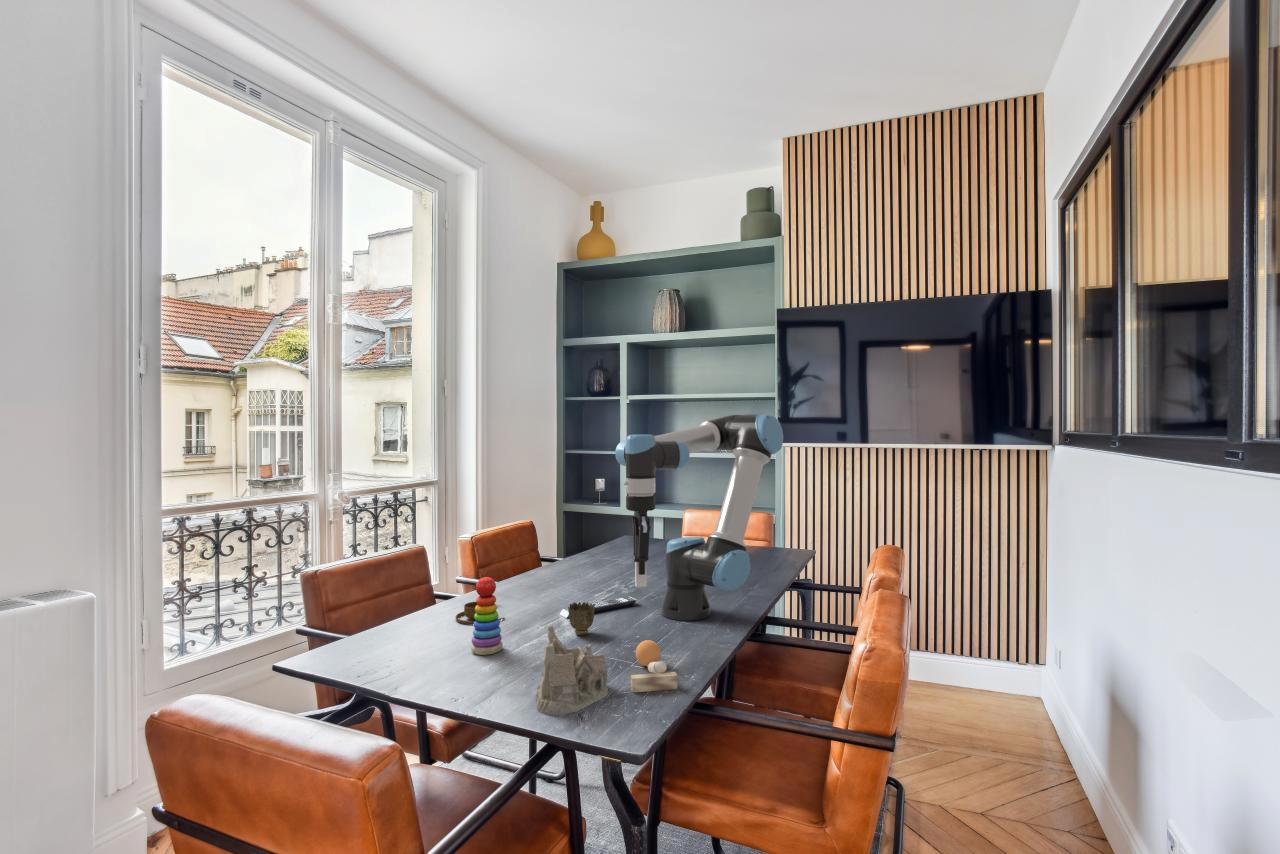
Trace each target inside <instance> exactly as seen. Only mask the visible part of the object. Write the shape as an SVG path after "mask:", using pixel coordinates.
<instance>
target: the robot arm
mask: <svg viewBox="0 0 1280 854" xmlns="http://www.w3.org/2000/svg"><path fill="white" fill-rule="evenodd" d="M783 431H784V430H783V427H782V424H781V423H780V421H779V420H778V418H776V417H775V416H774V415H773V414H772V415H771V414H763V413H758V414H731V415H726V416H722V417H718V418H715V419H711V420H708V421H703V422H702V423H700V424H699V426H694V427H690V428H687V429H681V430H676V431H672V432H667V433H663V434H658V435H654V434H629V435H627V436H626V440H622V441H620V442H619V443H618V444H617V446H616V448H615V452H614V453H615V459H616V461H617V463H618V464H620V465H621V466H622V467H625V478H626V479H625V480H626V481H624V482H623V485H624V486H626V487H625V490H626V493H627V495H626V496H625V508H626V510H627V511H629V512H634V513H633V516H631V524H632V526H631V527H632V543H633V545H632V546H633V552H632V553H633V557H634V558H633V562H634V571H635V572H634V573H635V574H634V575H635V577H634V578H635V579H634V584H635V587H636V588H647V583H648V582H647V579H648V578H647V575H648V573H647V563H648V562H647V561H649V558H650V557H649V551H650V550H649V547H650V532H651V525H650V523H651V522H650V517H648V512H649V511H654V510H655V509H656V496H655V495H654V494H655V493H656V471H658V470H659V471H661V470H663V471H664V470H677V469H682V468H684V467H686V466H687V465H688V463H689V461H690V454H694V453H697V452H698V453H699V452H702V451H705V452H715V451H728V452H732V455H734V457H735V460H734V461H733V466H732V470H731V473H730V477H729V480H728V484H727V487H726V491H725V494H724V498H723V502H722V506H721V510H720V513H719V516H718V520H717V523H716V525H715V526H716V527H715V530H714V532H713V533H711V534H710V535H708V536H707V539H706V540H705V538H704V537H702V536H689V537H688V536H687V537H686V536H685V537H678V538H673V539H670V540H668V542H667V544H666V553H665V557H666V558H665V559H666V560H665V561H666V562H665V563H666V564H665V565H666V589H665V592H664V595H663V599H662V602H661V605H660V614H661V615H662V616H664V617H665V618H667V619H672V620H676V621H698V620H703V619H706V617H707V618H708V617H710V616H711V613H712V612H711V611H712V610H711V604H710V601H709V597H708V593H707V591H706V587H705V585H706V586H710V587H713V588H717V589H719V590H727V591H733V590H737V589H738V588H739V587H741V586H742V585H743V584H744V583H745V582H746V580H747V579H748V577H749V574H750V570H751V562H750V561H751V559H750V556H749V554H748V553H747V549H748V548H747V545H746V544H745V542H744V540H745V535H746V531H747V528H748V523H749V520H750V517H751V512H752V509H753V505H754V501H755V497H756V494H757V490H758V485H759V483H760V479H761V475H762V470H763V468H764V466H765V465H767V464H768V463H770V460H771V459H772V458H771V457H772V454H776V453H778V452H779V451H780V450H781V449H782V447H783V444H784V432H783ZM709 615H710V616H709Z"/></svg>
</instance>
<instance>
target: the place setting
mask: <svg viewBox="0 0 1280 854" xmlns="http://www.w3.org/2000/svg"><path fill="white" fill-rule="evenodd" d="M477 605H478V604H477V603H476V601H470V602H467V603H465V604H464V605H463V608H464V609H463V611H461V612H459V613H457V614H456V615H455V620H456V622H457V623H458V622H459V624H461V623H462V625H467V624H474V622H475V621H472V620H475V618H474V615H475V613H476V611H475V607H476V606H477ZM464 615H465V616H464ZM461 616H462V617H466V618H468V619H469V620H463V619H461V618H462V617H461ZM459 617H460V618H459ZM458 618H459V619H458ZM498 619H499V621H501V619H503V620H502V621H501V622H503V621H504V620H505V619H506V618H505V617H500V618H498Z"/></svg>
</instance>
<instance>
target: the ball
mask: <svg viewBox="0 0 1280 854" xmlns="http://www.w3.org/2000/svg"><path fill="white" fill-rule="evenodd" d="M661 653H662V652H661V649H660V646H659V645H658V643H656V642H655V641H653V640H650V639H645V640H643V641H641V642H640V643H639V644H638V645H637V647H636V650H635V658H636V660H637V662H638V663H639V664H640V665H642V666H644V667H647V668H648V665H649V663H650V662H657V661H660V658H661Z"/></svg>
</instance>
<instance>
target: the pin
mask: <svg viewBox="0 0 1280 854" xmlns="http://www.w3.org/2000/svg"><path fill="white" fill-rule="evenodd" d="M667 669H668V667H667V663H666V662H665V661H663V660H662V661H661V660H659V661H657V662H650V663H649V665H648V667H647V670H648V672H649V673H650V674H652V673H665V672H666V671H667Z"/></svg>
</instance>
